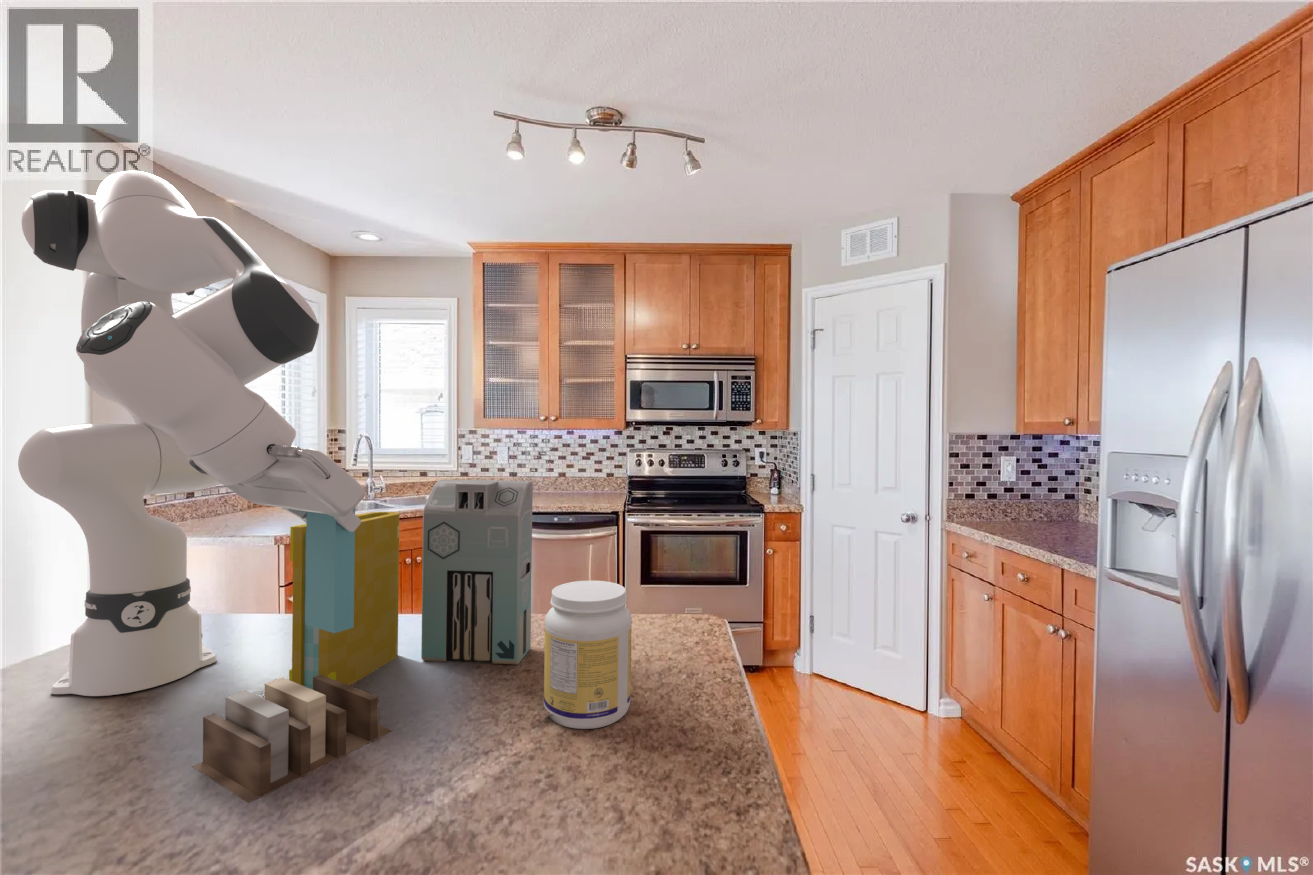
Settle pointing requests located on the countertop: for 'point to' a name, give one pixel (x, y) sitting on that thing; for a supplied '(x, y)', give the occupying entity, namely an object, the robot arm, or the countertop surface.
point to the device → (477, 571)
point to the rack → (248, 757)
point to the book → (373, 607)
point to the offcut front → (262, 725)
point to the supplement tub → (587, 654)
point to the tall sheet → (329, 574)
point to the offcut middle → (302, 709)
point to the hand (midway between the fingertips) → (335, 523)
